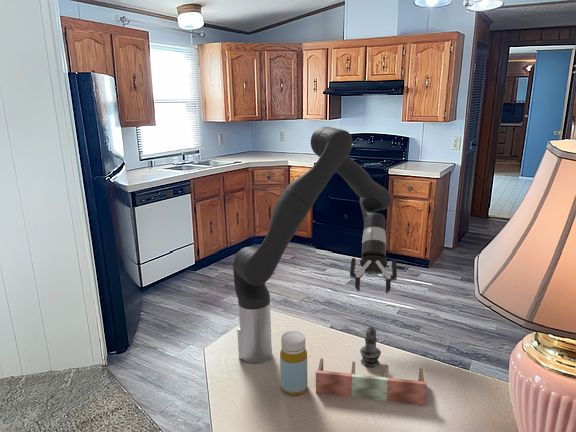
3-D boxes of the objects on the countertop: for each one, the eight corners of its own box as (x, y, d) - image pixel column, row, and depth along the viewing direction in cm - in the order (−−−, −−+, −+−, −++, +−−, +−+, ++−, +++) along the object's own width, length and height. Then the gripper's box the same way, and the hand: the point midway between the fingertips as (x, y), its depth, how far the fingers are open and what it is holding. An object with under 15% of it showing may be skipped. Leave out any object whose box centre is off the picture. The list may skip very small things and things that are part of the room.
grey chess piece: (379, 357, 126) (380, 320, 123) (381, 369, 120) (383, 330, 117) (359, 356, 126) (360, 319, 123) (360, 368, 121) (361, 330, 118)
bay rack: (315, 392, 111) (315, 372, 109) (320, 370, 120) (320, 351, 118) (425, 405, 105) (426, 384, 104) (421, 381, 114) (422, 361, 113)
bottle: (294, 376, 118) (293, 327, 114) (312, 387, 113) (312, 336, 109) (275, 387, 113) (273, 337, 109) (294, 400, 108) (293, 347, 104)
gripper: (351, 237, 136) (348, 285, 128) (397, 239, 133) (397, 288, 125) (352, 248, 142) (349, 294, 135) (396, 249, 140) (396, 297, 132)
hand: (372, 291), depth 130 cm, fingers open, 8 cm apart
